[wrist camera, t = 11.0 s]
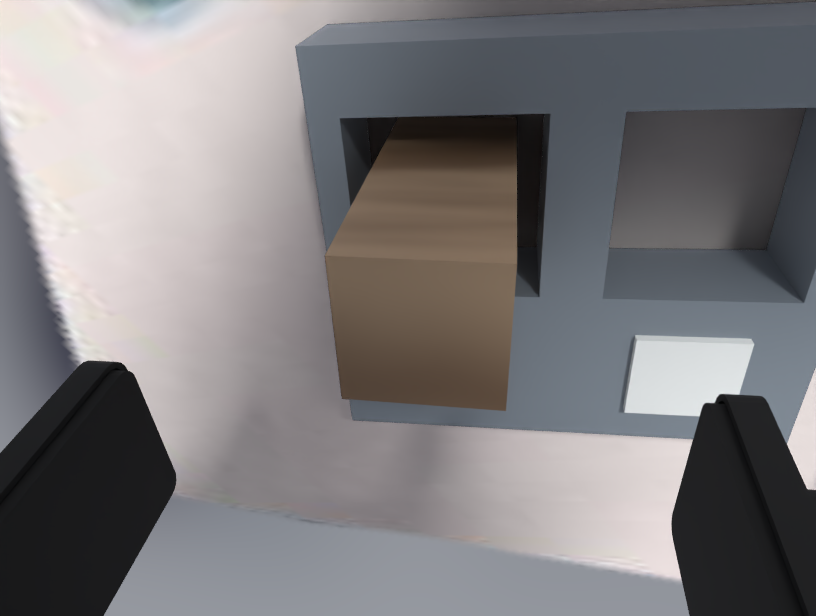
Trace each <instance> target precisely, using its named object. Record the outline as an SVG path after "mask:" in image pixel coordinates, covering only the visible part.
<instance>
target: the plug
mask: <svg viewBox="0 0 816 616" xmlns="http://www.w3.org/2000/svg"><path fill="white" fill-rule="evenodd" d="M325 262H326V271H327V279H328V287H329V296H330V304H331V312H332V321H333V329H334V337H335V346H336V354H337V362H338V371H339V379H340V387H341V396H342V399H352V400H365V401H379V402H392V403H405V404H418V405H432V406H445V407H458V408H471V409H485V410H498V411H506V405H507V392H508V378H509V365H510V352H511V338H512V325H513V312H514V298H515V285H516V272H517V118H506V117H398V119H397V121H396V123H395V125H394V126H393V128H392V130H391V132H390V134H389V136H388V138H387V140H386V141H385V143H384V145H383V147H382V149H381V151H380V153H379V155H378V156H377V158H376V160H375V162H374V164H373V166H372V168H371V170H370V172H369V173H368V175H367V177H366V179H365V181H364V183H363V185H362V187H361V188H360V190H359V192H358V194H357V196H356V198H355V200H354V202H353V203H352V205H351V207H350V209H349V211H348V213H347V215H346V217H345V218H344V220H343V222H342V224H341V226H340V228H339V230H338V232H337V234H336V235H335V237H334V239H333V241H332V243H331V245H330V247H329V249H328V250H327V252H326V254H325Z"/></svg>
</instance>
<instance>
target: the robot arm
mask: <svg viewBox="0 0 816 616" xmlns="http://www.w3.org/2000/svg"><path fill="white" fill-rule="evenodd" d="M175 485H176V473H175V470H174V468H173V465H172V463H171V461H170V458H169V456H168V454H167V451H166V449H165V446H164V444H163V442H162V439H161V437H160V435H159V432H158V430H157V427H156V425H155V423H154V420H153V418H152V416H151V413H150V411H149V409H148V406H147V404H146V401H145V399H144V397H143V394H142V392H141V390H140V387H139V385H138V382H137V380H136V378H135V376H134V374H133V373H132V372H130V371H128V370H127V368H126V367H125V365H123V364H122V363H119V362H106V361H86V362H83V363H82V364H81V365H80V366H78V368H77V369H76V370H75V371H74V372H73V373H72V374H71V375H70V376H69V378H68V379H67V380H66V381H65V382H64V383H63V384H62V385H61V386H60V388H59V389H58V390H57V391H56V392H55V393H54V394H53V395H52V396H51V398H50V399H49V400H48V401H47V402H46V403H45V404H44V405H43V407H41V409H40V410H39V411H38V412H37V413H36V414H35V415H34V416H33V418H32V419H31V420H30V421H29V422H28V423H27V424H26V425H25V426H24V428H23V429H22V430H21V431H20V432H19V433H18V434H17V435H16V436H15V437H14V439H13V440H12V441H11V442H10V443H9V444H8V445H7V446H6V448H5V449H4V450H3V451H2V452H1V453H0V616H104V614H105V612H106V610H107V609H108V607H109V605H110V603H111V601H112V600H113V598H114V596H115V594H116V593H117V591H118V589H119V587H120V586H121V584H122V582H123V580H124V579H125V577H126V575H127V573H128V571H129V570H130V568H131V566H132V564H133V563H134V561H135V559H136V557H137V556H138V554H139V552H140V550H141V549H142V547H143V545H144V543H145V542H146V540H147V538H148V536H149V534H150V533H151V531H152V529H153V527H154V526H155V524H156V522H157V520H158V519H159V517H160V515H161V513H162V511H163V510H164V508H165V506H166V505H167V503H168V501H169V499H170V497H171V496H172V494H173V492H174V489H175ZM672 536H673V541H674V546H675V551H676V555H677V560H678V564H679V569H680V574H681V578H682V583H683V587H684V592H685V596H686V601H687V606H688V610H689V615H690V616H816V490H808V489H807V488H806V486H805V484H804V482H803V479H802V477H801V475H800V473H799V470H798V468H797V466H796V464H795V462H794V459H793V457H792V455H791V453H790V451H789V448H788V446H787V444H786V442H785V439H784V437H783V435H782V433H781V431H780V428H779V426H778V424H777V422H776V420H775V417H774V415H773V413H772V411H771V409H770V406H769V404H768V402H767V401H766V399H765V398H764V397H762V396H754V395H735V394H719V396H718V397H717V398H716V401H715V403H705V404H704V405H703V407H702V410H701V413H700V417H699V420H698V424H697V428H696V431H695V435H694V438H693V442H692V446H691V449H690V453H689V456H688V460H687V464H686V467H685V471H684V474H683V478H682V482H681V485H680V489H679V492H678V496H677V500H676V503H675V507H674V510H673V514H672Z"/></svg>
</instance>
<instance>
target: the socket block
mask: <svg viewBox="0 0 816 616" xmlns="http://www.w3.org/2000/svg"><path fill="white" fill-rule="evenodd" d="M295 48H296V54H297V61H298V67H299V74H300V80H301V87H302V93H303V100H304V106H305V113H306V119H307V126H308V132H309V139H310V145H311V152H312V158H313V165H314V171H315V178H316V185H317V191H318V198H319V204H320V211H321V217H322V224H323V230H324V237H325V243H326V250H328V249H329V247H330V245H331V243H332V241H333V239H334V237H335V235H336V234H337V232H338V230H339V228H340V226H341V224H342V222H343V220H344V218H345V217H346V215H347V213H348V211H349V209H350V207H351V205H352V203H353V202H354V200H355V198H356V196H357V194H358V192H359V190H360V188H361V187H362V185H363V183H364V181H365V179H366V177H367V175H368V173H369V172H370V170H371V168H372V163H371V153H370V143H369V133H368V123H367V118H373V117H417V116H462V115H507V114H544V122H543V140H542V158H541V176H540V194H539V211H538V229H537V247H517V272H516V285H515V298H514V312H513V325H512V338H511V352H510V365H509V378H508V392H507V405H506V411H498V410H485V409H471V408H458V407H445V406H432V405H418V404H405V403H392V402H379V401H365V400H352V399H349V400H350V406H351V413H352V419H353V420H358V421H376V422H394V423H412V424H430V425H448V426H466V427H484V428H502V429H520V430H538V431H556V432H574V433H592V434H610V435H628V436H646V437H664V438H682V439H693V438H694V435H695V431H696V428H697V424H698V420H699V417H700V413H701V410H702V407H703V405H704V404H705V403H715V401H716V398H717V397H718V396H719V394H735V395H754V396H762V397H764V398H765V399H766V401H767V402H768V404H769V406H770V409H771V411H772V413H773V415H774V417H775V420H776V422H777V424H778V426H779V428H780V431H781V433H782V435H783V437H784V439H785V442H786V444H787V442H788V439H789V436H790V434H791V431H792V428H793V426H794V423H795V420H796V418H797V415H798V413H799V410H800V407H801V405H802V402H803V399H804V397H805V394H806V391H807V389H808V386H809V383H810V381H811V378H812V376H813V373H814V370H815V368H816V2H796V3H775V4H753V5H732V6H711V7H689V8H668V9H646V10H625V11H604V12H582V13H561V14H540V15H518V16H497V17H475V18H454V19H433V20H411V21H390V22H369V23H347V24H327V25H326V26H324V27H323V28H321V29H320V30H318V31H317V32H315V33H314V34H313V35H311V36H310V37H308V38H307V39H305V40H304V41H302V42H301V43H299V44H298V45H296V46H295ZM775 108H806V112H805V115H804V119H803V122H802V126H801V129H800V133H799V136H798V140H797V143H796V147H795V150H794V154H793V157H792V161H791V164H790V168H789V172H788V175H787V179H786V182H785V186H784V189H783V193H782V196H781V200H780V203H779V207H778V210H777V214H776V217H775V221H774V224H773V228H772V231H771V235H770V238H769V242H768V245H767V249H766V250H732V249H637V248H609V244H610V236H611V228H612V220H613V212H614V205H615V197H616V189H617V181H618V173H619V165H620V158H621V150H622V142H623V134H624V126H625V118H626V112H641V111H686V110H730V109H775Z"/></svg>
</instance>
